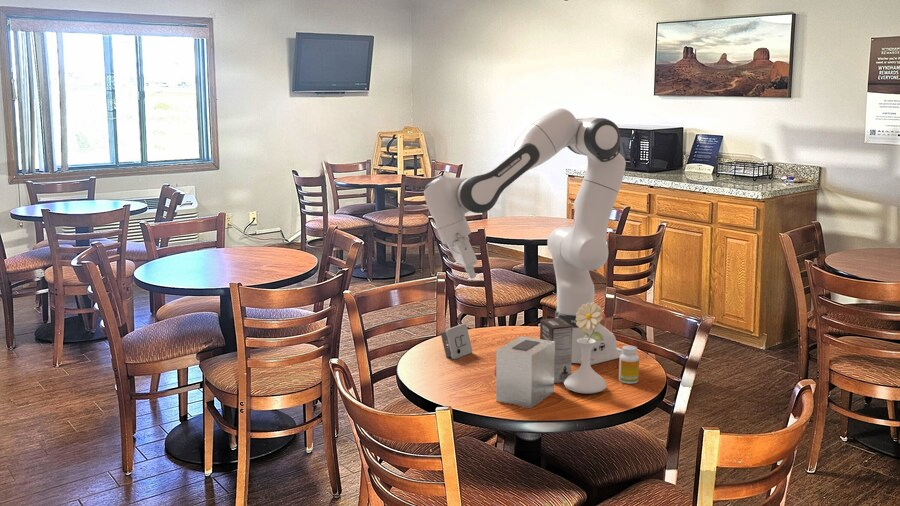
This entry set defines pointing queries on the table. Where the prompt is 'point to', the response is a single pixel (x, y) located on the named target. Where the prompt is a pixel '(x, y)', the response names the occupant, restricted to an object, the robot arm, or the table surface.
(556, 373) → the coffee box
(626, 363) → the supplement bottle
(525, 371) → the box
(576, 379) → the flower in vase
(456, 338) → the electrical switch
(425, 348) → the table surface
